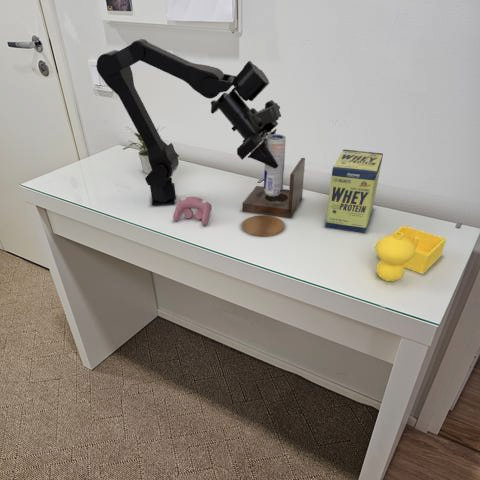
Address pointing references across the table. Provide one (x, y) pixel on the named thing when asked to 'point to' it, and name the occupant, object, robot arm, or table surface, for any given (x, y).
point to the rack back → (296, 185)
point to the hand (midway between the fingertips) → (279, 163)
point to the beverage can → (275, 175)
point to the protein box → (353, 190)
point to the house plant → (143, 154)
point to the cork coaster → (263, 225)
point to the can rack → (268, 203)
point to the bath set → (407, 252)
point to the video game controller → (195, 203)
